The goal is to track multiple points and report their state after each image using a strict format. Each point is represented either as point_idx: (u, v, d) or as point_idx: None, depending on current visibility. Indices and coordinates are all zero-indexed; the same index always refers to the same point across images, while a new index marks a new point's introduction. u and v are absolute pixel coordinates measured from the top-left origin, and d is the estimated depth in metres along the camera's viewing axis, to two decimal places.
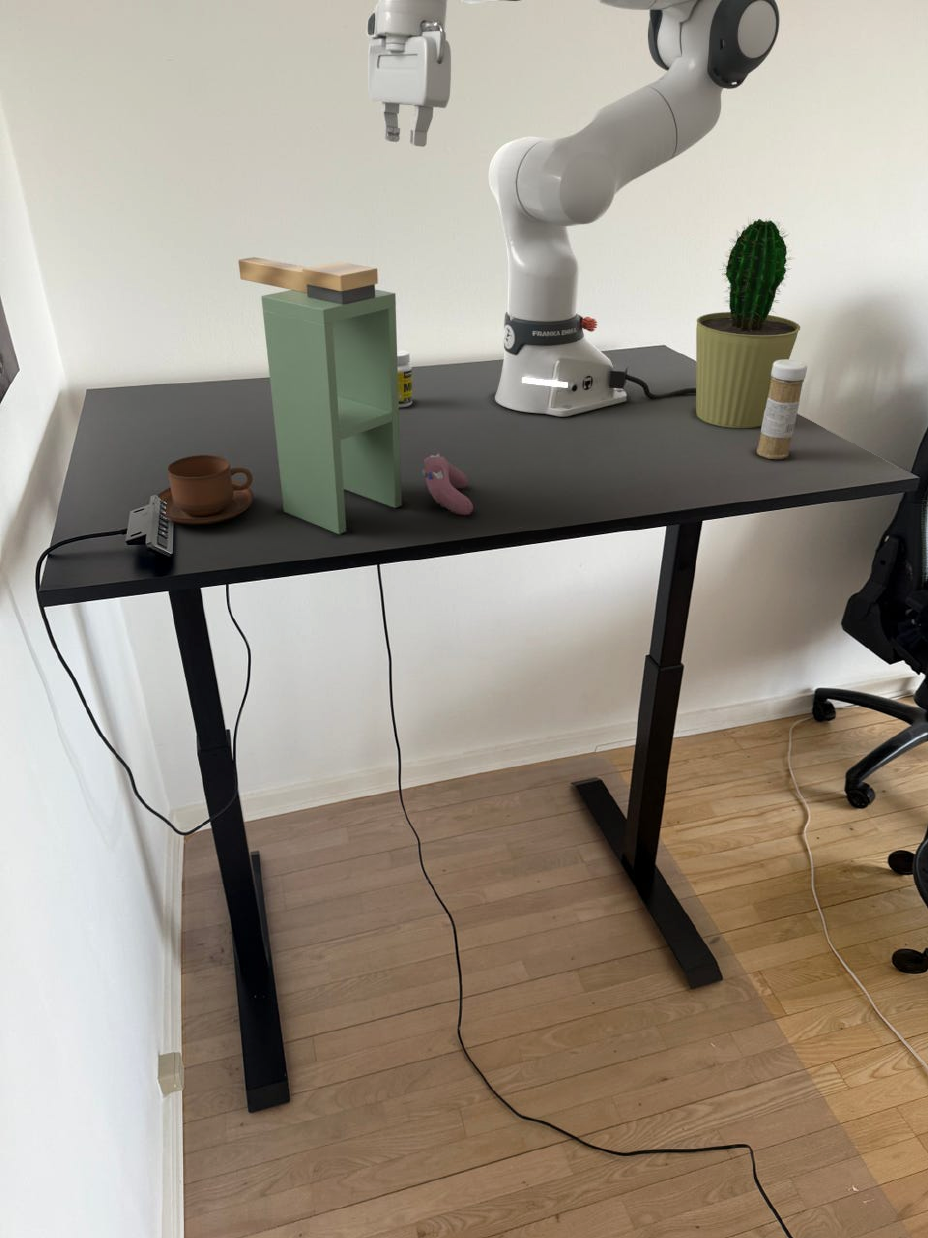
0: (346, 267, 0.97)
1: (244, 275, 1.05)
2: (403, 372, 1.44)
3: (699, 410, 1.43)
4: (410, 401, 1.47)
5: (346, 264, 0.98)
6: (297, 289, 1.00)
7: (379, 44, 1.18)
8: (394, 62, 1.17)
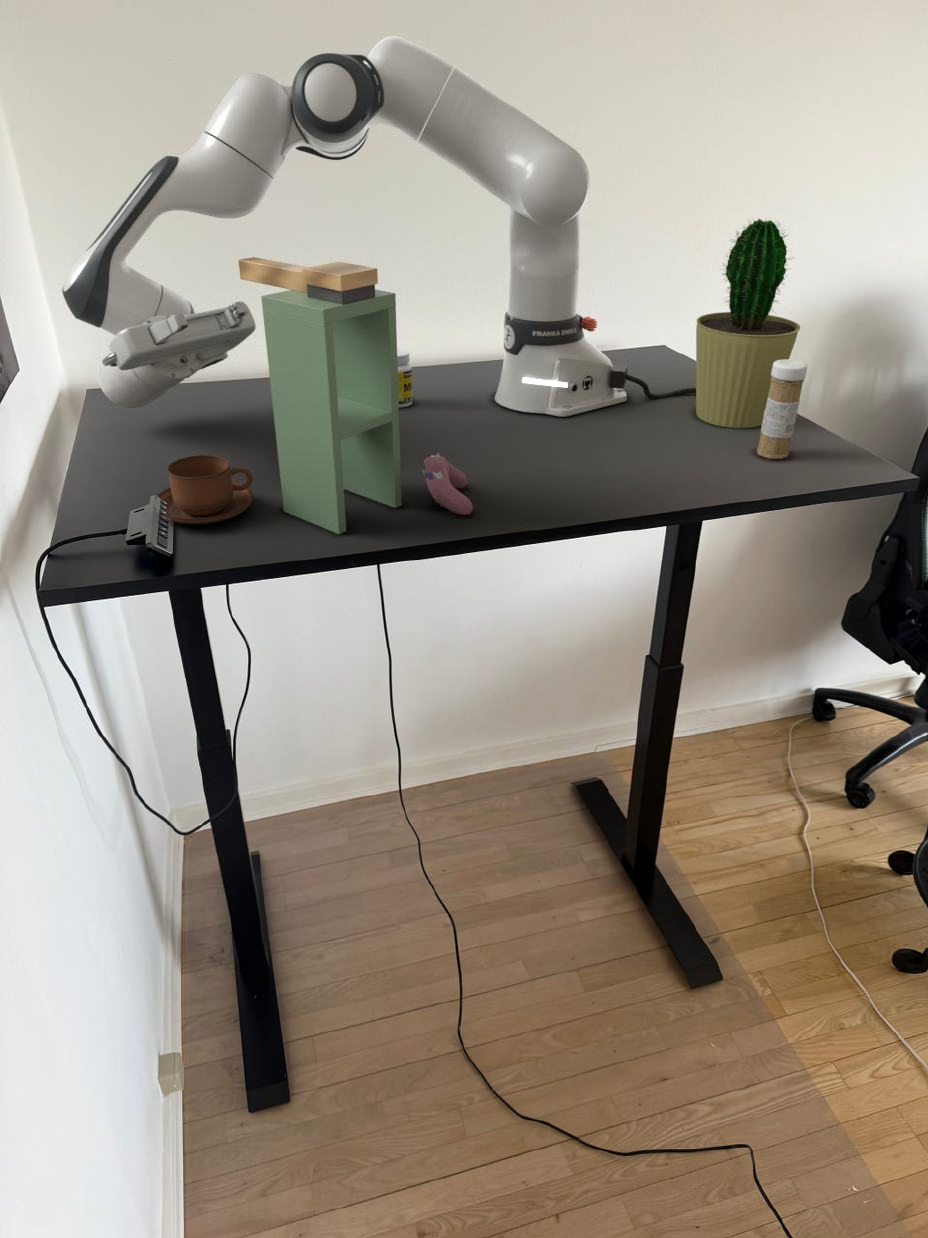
0: (346, 267, 0.97)
1: (244, 275, 1.05)
2: (403, 372, 1.44)
3: (699, 410, 1.43)
4: (410, 401, 1.47)
5: (346, 264, 0.98)
6: (297, 289, 1.00)
7: (206, 358, 1.25)
8: None
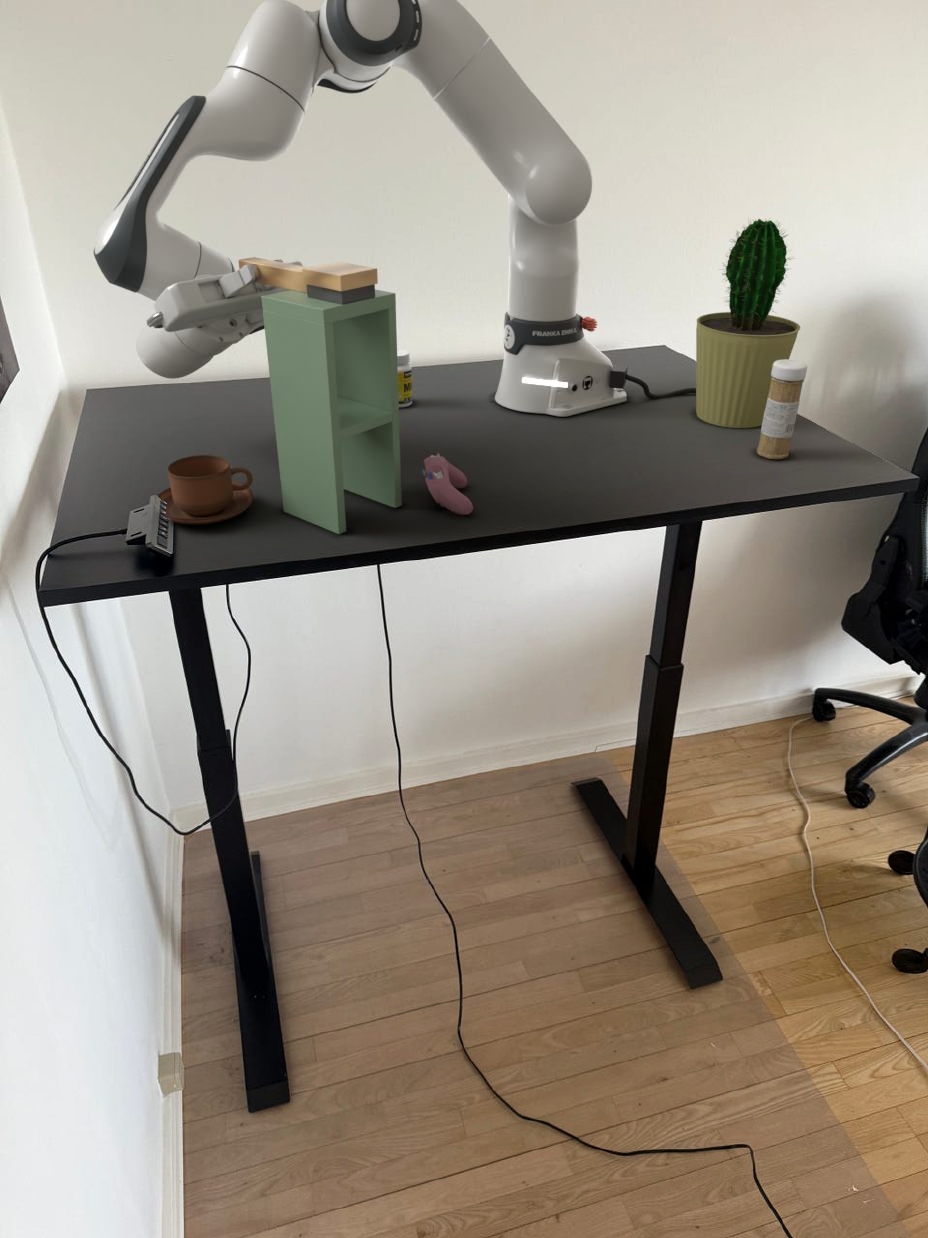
0: (346, 267, 0.97)
1: None
2: (403, 372, 1.44)
3: (699, 410, 1.43)
4: (410, 401, 1.47)
5: (346, 264, 0.98)
6: (297, 289, 1.00)
7: (255, 321, 1.15)
8: (244, 309, 1.12)
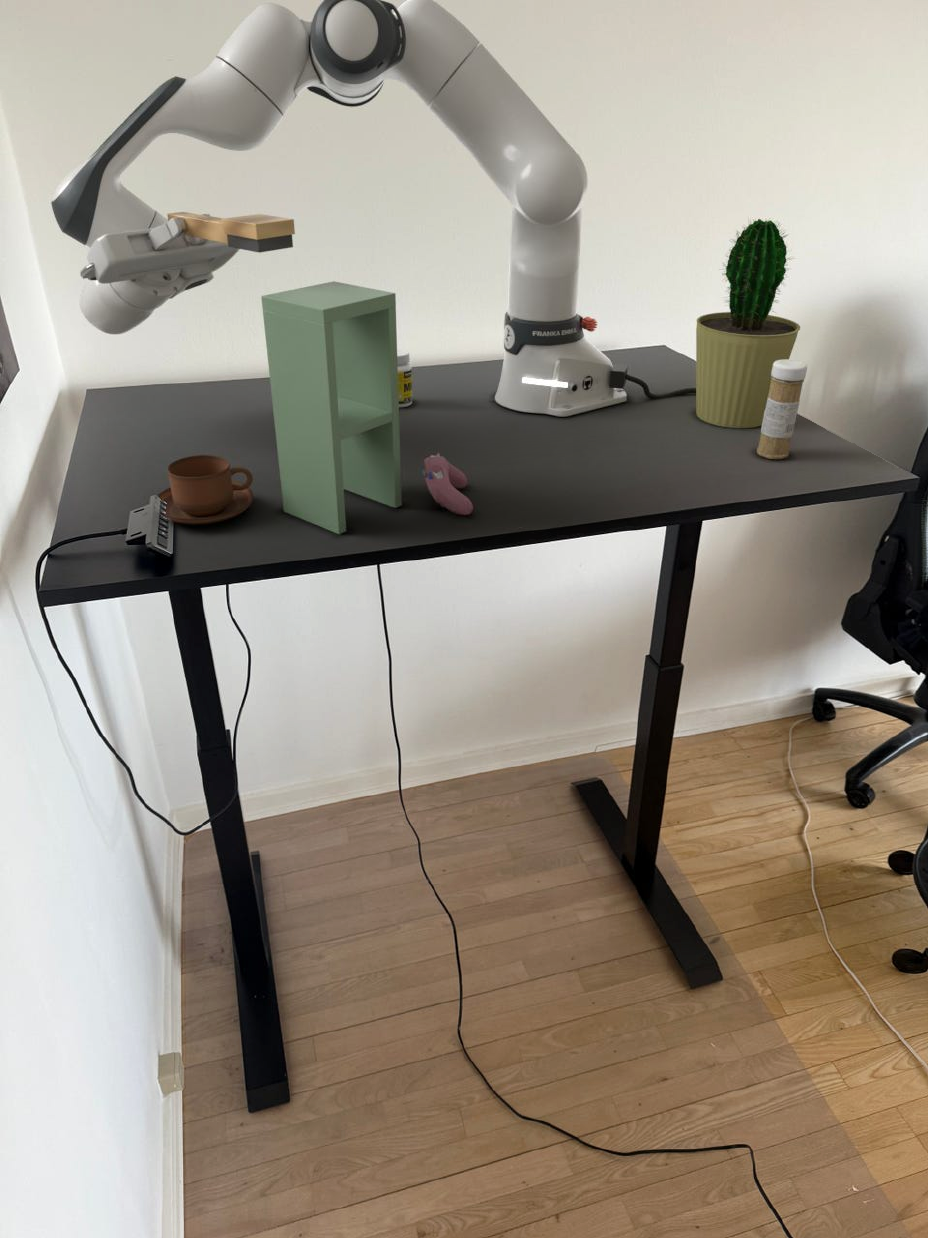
0: (264, 218, 1.02)
1: None
2: (403, 372, 1.44)
3: (699, 410, 1.43)
4: (410, 401, 1.47)
5: (265, 216, 1.03)
6: (220, 240, 1.05)
7: (190, 276, 1.20)
8: (177, 263, 1.17)
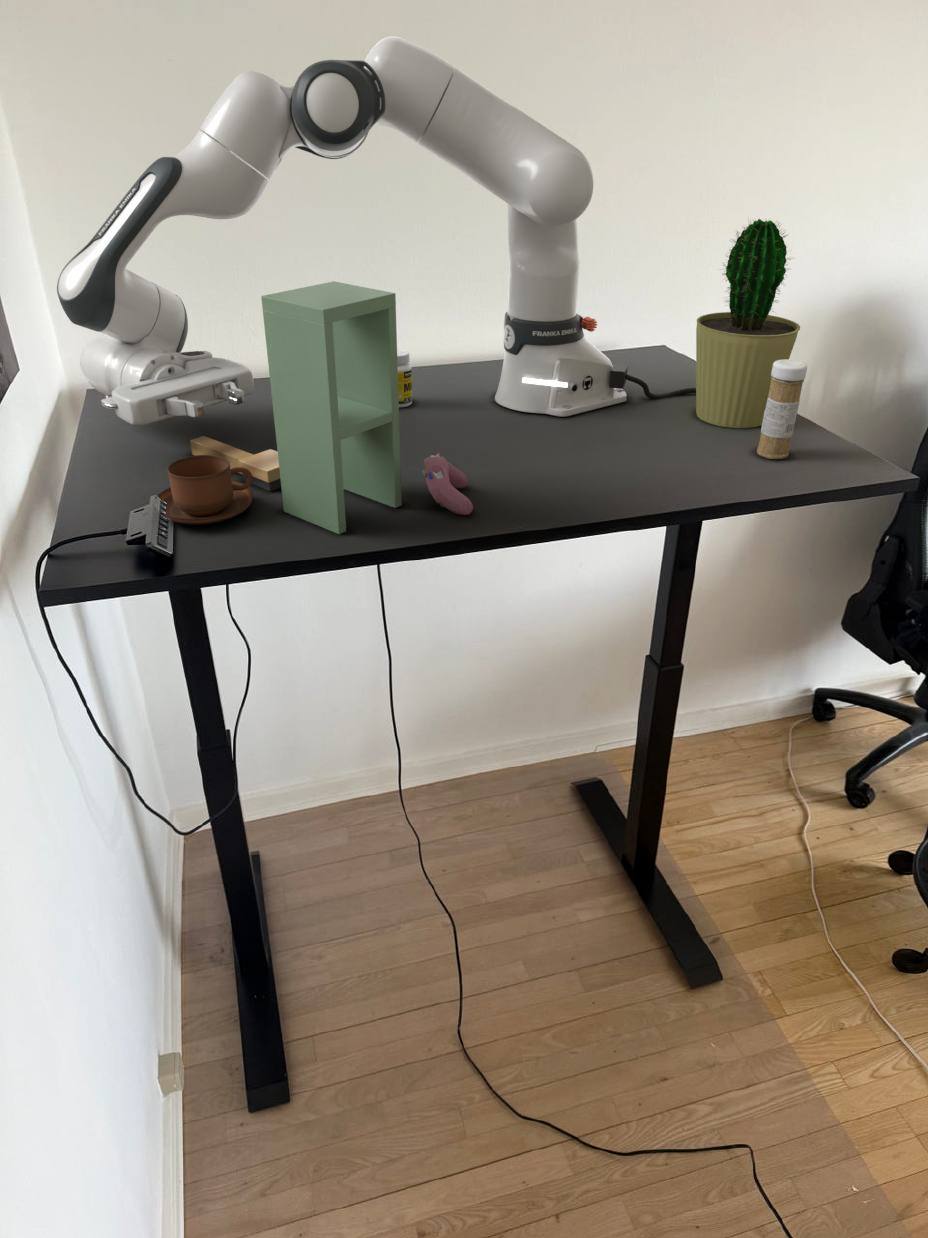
0: (274, 458, 1.19)
1: (195, 452, 1.27)
2: (403, 372, 1.44)
3: (699, 410, 1.43)
4: (410, 401, 1.47)
5: (275, 453, 1.20)
6: None
7: None
8: None
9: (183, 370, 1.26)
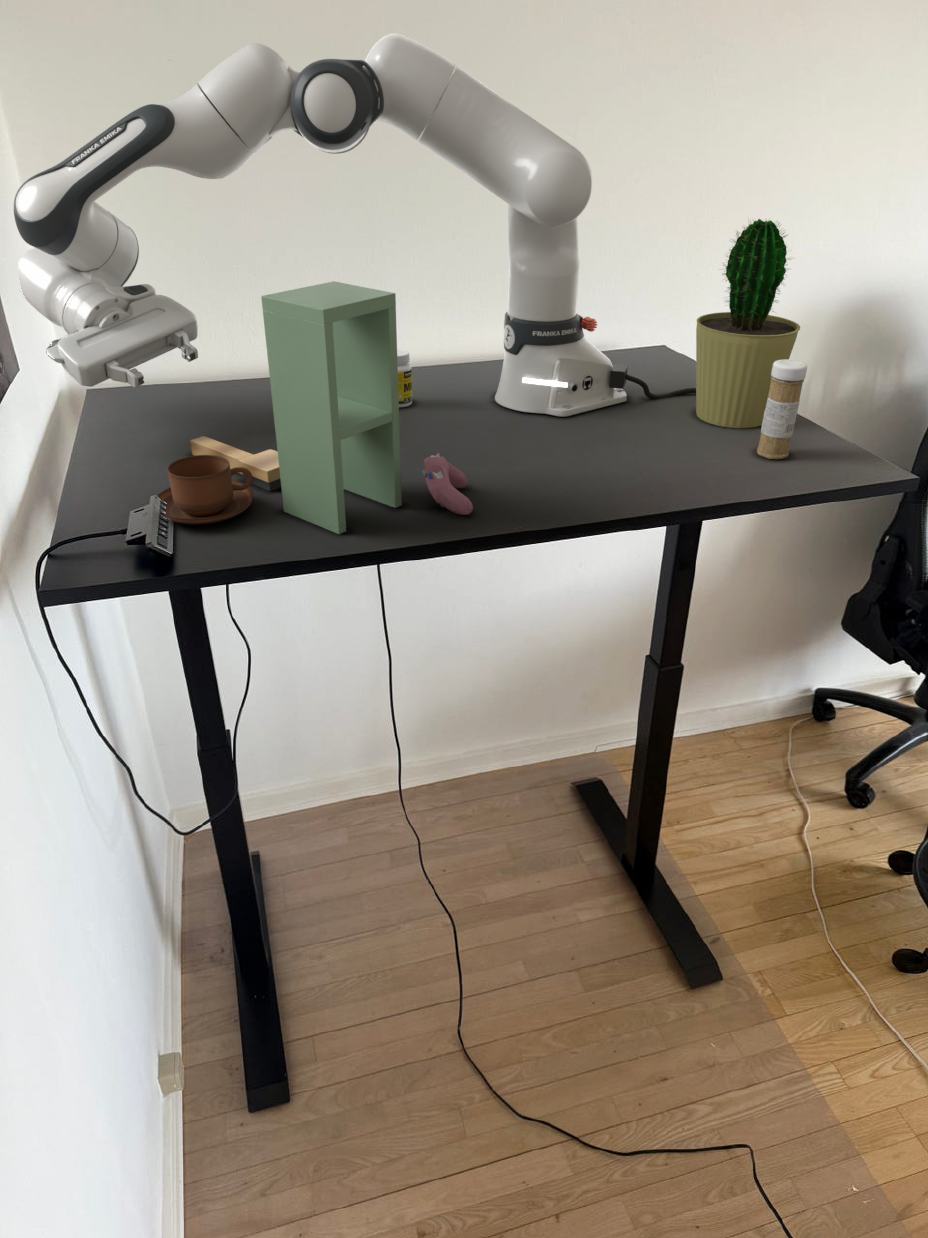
0: (274, 458, 1.19)
1: (195, 452, 1.27)
2: (403, 372, 1.44)
3: (699, 410, 1.43)
4: (410, 401, 1.47)
5: (275, 453, 1.20)
6: None
7: None
8: None
9: (127, 314, 1.27)
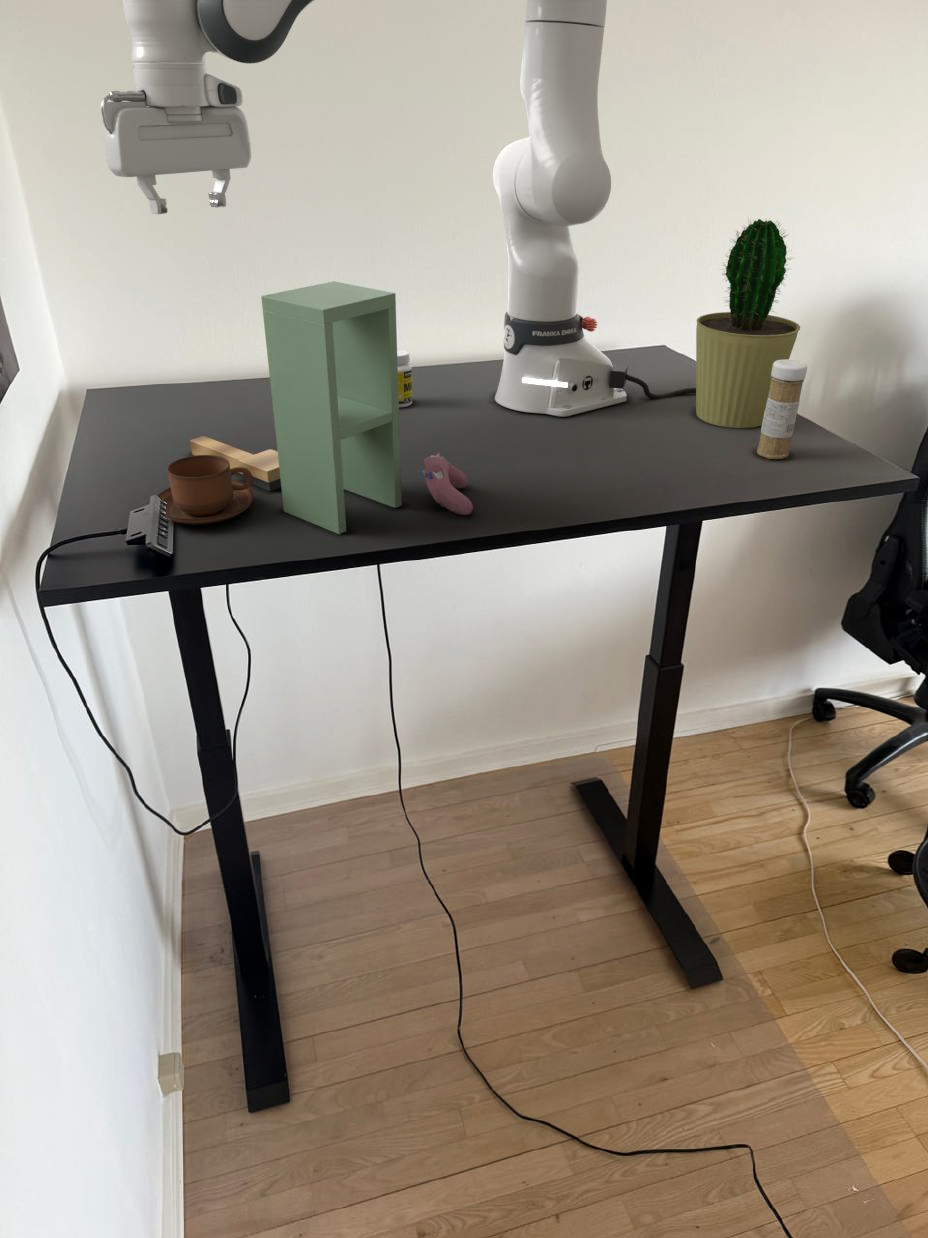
0: (274, 458, 1.19)
1: (195, 452, 1.27)
2: (403, 372, 1.44)
3: (699, 410, 1.43)
4: (410, 401, 1.47)
5: (275, 453, 1.20)
6: None
7: None
8: None
9: (200, 120, 1.14)
